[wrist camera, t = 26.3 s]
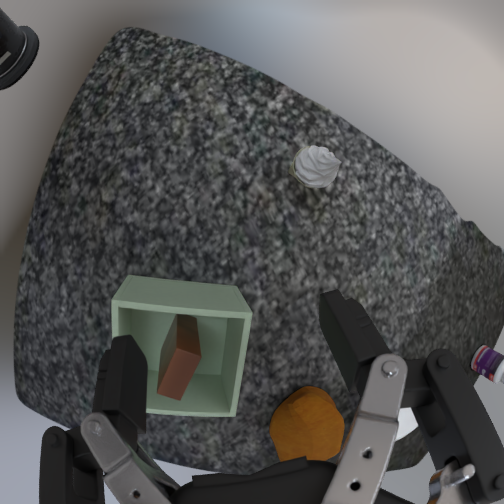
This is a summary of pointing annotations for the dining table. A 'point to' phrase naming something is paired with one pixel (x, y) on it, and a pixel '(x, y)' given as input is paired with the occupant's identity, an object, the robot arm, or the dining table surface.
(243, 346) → the trash bin
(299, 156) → the ice cream cone
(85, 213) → the dining table surface
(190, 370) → the chocolate bar
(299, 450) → the bread
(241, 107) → the dining table surface
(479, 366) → the pill bottle
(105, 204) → the dining table surface
